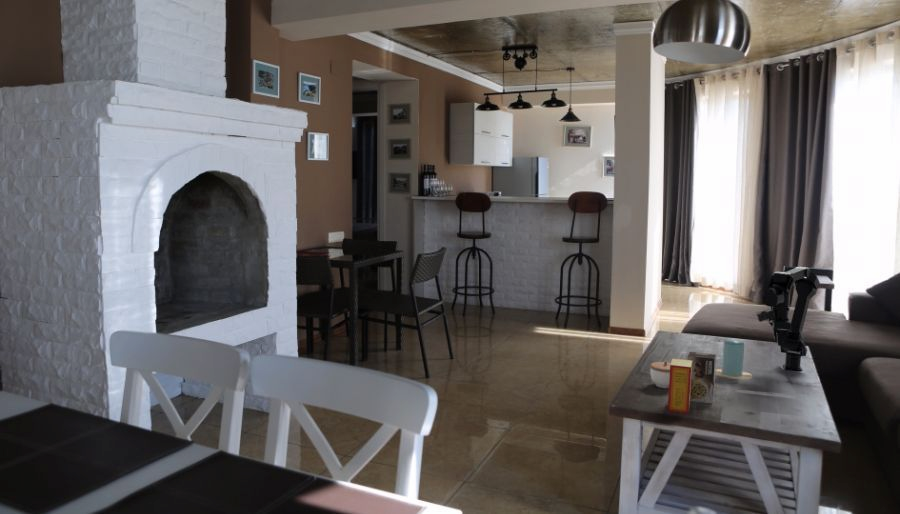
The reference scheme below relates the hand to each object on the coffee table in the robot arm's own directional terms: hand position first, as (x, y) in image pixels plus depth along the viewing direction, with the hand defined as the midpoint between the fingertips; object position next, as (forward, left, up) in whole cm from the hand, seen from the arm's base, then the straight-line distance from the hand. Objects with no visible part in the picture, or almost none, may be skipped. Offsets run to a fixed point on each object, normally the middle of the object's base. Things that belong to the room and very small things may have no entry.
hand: (777, 343), depth 275 cm
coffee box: (+44, -30, -13) cm, 55 cm away
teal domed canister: (+9, -17, -12) cm, 22 cm away
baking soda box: (+56, -37, -13) cm, 68 cm away
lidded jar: (+31, -42, -13) cm, 54 cm away
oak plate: (+9, -17, -13) cm, 23 cm away
